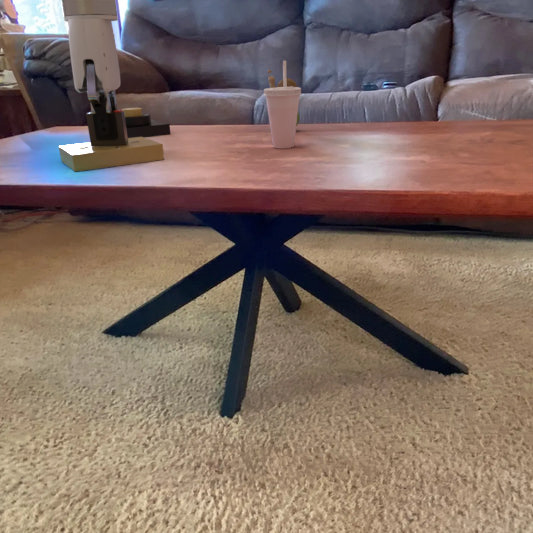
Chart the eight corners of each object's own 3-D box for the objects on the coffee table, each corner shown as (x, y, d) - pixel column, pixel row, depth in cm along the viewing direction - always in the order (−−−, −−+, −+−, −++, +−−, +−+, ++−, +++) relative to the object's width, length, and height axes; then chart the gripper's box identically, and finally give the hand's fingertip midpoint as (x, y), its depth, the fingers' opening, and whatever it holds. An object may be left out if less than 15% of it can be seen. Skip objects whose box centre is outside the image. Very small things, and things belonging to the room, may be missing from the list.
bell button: (126, 119, 104) (125, 110, 104) (120, 117, 107) (119, 108, 107) (145, 117, 106) (144, 108, 105) (139, 115, 109) (138, 107, 109)
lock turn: (91, 146, 81) (85, 112, 79) (94, 144, 83) (88, 110, 81) (125, 144, 81) (121, 110, 79) (128, 142, 83) (123, 109, 81)
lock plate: (74, 171, 75) (71, 153, 74) (61, 161, 83) (58, 144, 82) (164, 159, 82) (162, 142, 81) (143, 150, 90) (141, 135, 89)
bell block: (113, 141, 101) (110, 120, 100) (100, 135, 109) (97, 116, 108) (170, 134, 107) (168, 114, 105) (154, 129, 115) (152, 111, 113)
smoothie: (309, 146, 89) (309, 59, 83) (279, 151, 85) (277, 61, 80) (286, 142, 94) (285, 60, 88) (258, 146, 90) (254, 61, 85)
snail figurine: (274, 129, 110) (272, 69, 105) (302, 129, 107) (302, 68, 103) (265, 132, 105) (263, 70, 100) (294, 133, 103) (294, 70, 98)
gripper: (79, 14, 81) (98, 132, 89) (44, 6, 67) (70, 148, 74) (127, 12, 82) (141, 130, 89) (102, 4, 67) (122, 146, 74)
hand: (109, 137), depth 81 cm, fingers closed on lock turn, 2 cm apart
